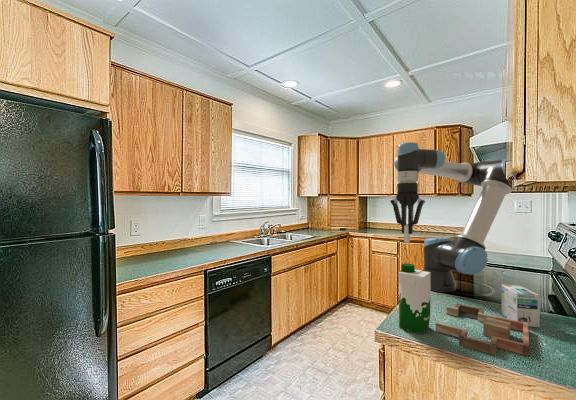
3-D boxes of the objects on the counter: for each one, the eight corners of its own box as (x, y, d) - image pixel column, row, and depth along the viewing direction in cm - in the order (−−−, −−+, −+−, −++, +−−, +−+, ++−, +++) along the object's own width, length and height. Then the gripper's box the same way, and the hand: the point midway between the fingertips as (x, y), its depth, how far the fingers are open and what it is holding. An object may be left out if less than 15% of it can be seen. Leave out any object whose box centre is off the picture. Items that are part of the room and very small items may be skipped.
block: (486, 329, 93) (487, 317, 93) (510, 335, 89) (510, 322, 89) (483, 335, 89) (483, 322, 89) (507, 342, 85) (508, 329, 85)
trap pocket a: (456, 310, 109) (456, 303, 109) (483, 316, 103) (483, 309, 103) (454, 314, 105) (454, 307, 105) (482, 320, 99) (482, 313, 99)
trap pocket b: (462, 338, 87) (462, 329, 87) (496, 347, 82) (496, 338, 82) (459, 345, 83) (459, 336, 83) (495, 355, 78) (495, 345, 78)
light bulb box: (540, 328, 94) (540, 294, 94) (516, 326, 95) (517, 293, 95) (521, 314, 105) (521, 285, 104) (500, 313, 106) (500, 283, 106)
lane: (447, 312, 106) (447, 306, 106) (527, 331, 92) (527, 323, 92) (435, 331, 92) (435, 323, 92) (528, 356, 77) (529, 346, 77)
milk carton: (404, 319, 101) (405, 261, 100) (433, 326, 95) (433, 265, 95) (395, 327, 94) (395, 266, 94) (425, 336, 88) (425, 270, 88)
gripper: (387, 182, 116) (387, 241, 117) (422, 181, 108) (422, 244, 108) (394, 183, 122) (393, 239, 122) (427, 182, 114) (427, 242, 114)
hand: (407, 241), depth 115 cm, fingers closed
